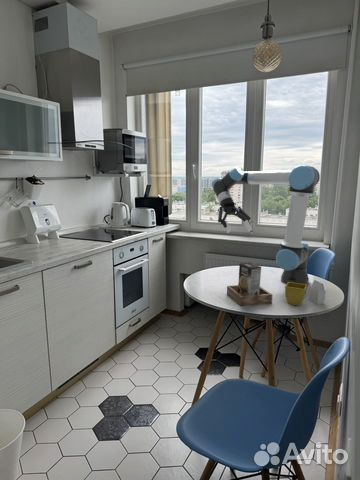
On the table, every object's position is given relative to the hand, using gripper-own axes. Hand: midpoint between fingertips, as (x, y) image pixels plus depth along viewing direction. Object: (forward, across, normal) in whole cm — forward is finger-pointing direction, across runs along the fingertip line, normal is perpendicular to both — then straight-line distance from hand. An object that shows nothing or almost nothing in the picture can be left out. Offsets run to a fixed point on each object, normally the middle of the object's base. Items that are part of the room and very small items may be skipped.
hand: (239, 231), depth 177 cm
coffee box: (+36, +8, -5) cm, 37 cm away
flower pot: (+46, -9, +3) cm, 47 cm away
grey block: (+47, -20, +5) cm, 52 cm away
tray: (+36, +8, -6) cm, 38 cm away
